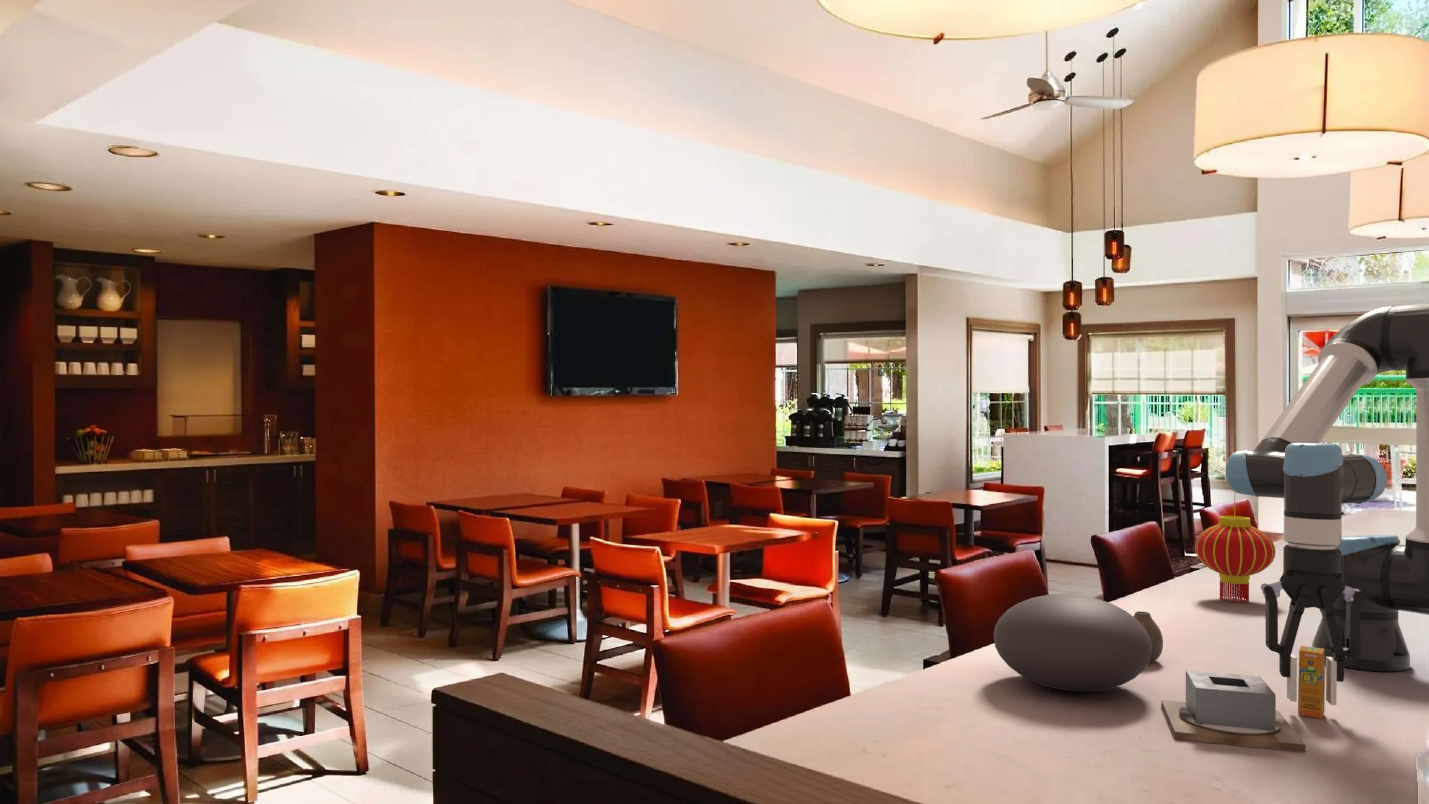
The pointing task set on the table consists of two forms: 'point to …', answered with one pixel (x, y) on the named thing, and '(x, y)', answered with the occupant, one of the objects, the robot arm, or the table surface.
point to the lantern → (1235, 553)
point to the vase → (1151, 633)
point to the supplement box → (1311, 682)
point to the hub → (1229, 703)
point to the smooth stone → (1072, 642)
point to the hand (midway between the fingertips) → (1311, 700)
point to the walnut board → (1186, 731)
